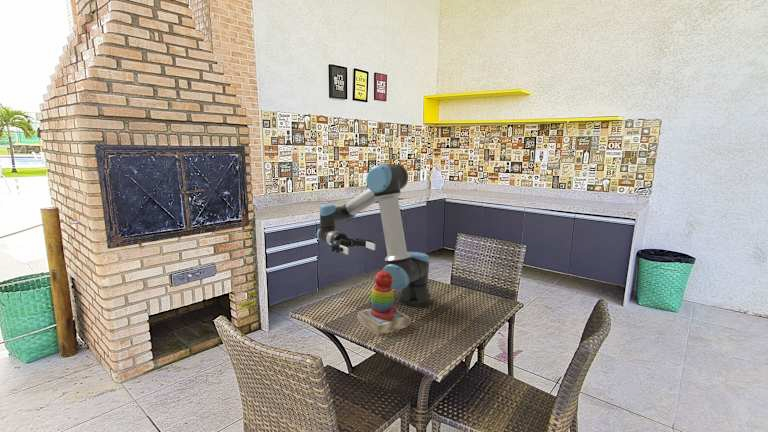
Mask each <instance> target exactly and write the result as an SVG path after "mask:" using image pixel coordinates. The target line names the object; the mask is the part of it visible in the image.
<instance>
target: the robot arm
mask: <svg viewBox="0 0 768 432" xmlns="http://www.w3.org/2000/svg"><path fill="white" fill-rule="evenodd" d="M365 182H366V186H367V187H368V188H367V189H365V190H364V191H362V192H361V193H359V194H358V195H356V196H355V197H353V198H352V199H350V200H349V201H347V202H346V203H345V204H343V205H341V206H336V205H335V204H333V203H332V204H331V203H328V204H327V203H324V204H321V205H320V207H319V228H318V230H317V231H316V238H317V240H318V241H320V242H321V243H322V244H326V245H328V246H329V247H330V249H331V252H332V253H333V252H335V251H336V253H337V254H339V253H341V254H345V255H346V256H348V255H349V253H350V250H349V248H351V247H352V248H353V247H365V248H367V249H370V250H372V251H376V243H373V242H372V240H371V239H368V238H367V239H364V238H357V237H353V238H349V237H348V235H346V234H345V233H343V232H341V231H337V230H336V227H337V226H336V223H338V222H343V221H350V220H353V219H355V217H356V215H357V214H359V213H361V212H362V211H363V210H365V209H367V208H368V207H370V206H371V205H374V204H375V203H376V202H378V206H379V213H380V218H381V224H382V229H383V230H382V231H383V235H384V241H385V247H386V249H385V250H386V253H387V256H385V258H384V263H385V266H384V267H383V270H384V271H386V272H388V273H389V274H390V275H391V276H392V278H393V279H394V281H393V283H392V284H391V286H392V290H393V291H394V290H395V291H400V292H399V294H398V301H399V303H401V304H402V305H406V306H409V307H425V306H428V305H429V304H431V300H432V297H431V293H430V290H429V283H428V282H429V270H430V256H429V255H428V254H426V253H424V252H419V251H407V250H408V249H407V244H406V239H405V232H404V227H403V225H404V224H403V219H402V214H401V213H402V212H401V208H400V203H399V202H400V201H399V197H400V195H401V190H402V189H404V188H405V187H406V186H407V184H408V182H409V173H408V171H407V169H406V168H405V167H404V166H403V165H401V164H397V163H396V164H395V163H394V164H393V163H392V164H390V163H389V164H388V163H386V164H385V163H382V164H377V165H374V166H372V167H371V168H370V170H369V171H368V173H367V174H366V181H365ZM348 247H349V248H348Z"/></svg>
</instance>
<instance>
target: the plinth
mask: <svg viewBox="0 0 768 432" xmlns="http://www.w3.org/2000/svg"><path fill="white" fill-rule="evenodd" d="M371 309H372V307H371V308H368V309H367V308H366V309H362V310H360V311H357V320H356V321H357V322H358V323H359V324H360V325H362V326H364V327H365V328H366V329H368V330H369V331H371V332H372V333H373V334H375V335H376V336H377V337H379V336H382V335H385V334H388V333H392V332H395V331H398V330H401V329H404V328H408V327H410V316H408V315H407V314H404V313H403V312H401V311H399V310H398V309H396V312H395V313H393V316H394V318H393V319H391V320H384V319H379V318H376V317H374V316H372V315H371Z"/></svg>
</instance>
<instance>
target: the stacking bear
mask: <svg viewBox="0 0 768 432" xmlns="http://www.w3.org/2000/svg"><path fill="white" fill-rule="evenodd" d="M393 281H394V279H393V278H392V276H391V275H390V274H389V273H388V272H386V271H384V269H382V270H381V271H379V272H377V273H376V274H375V276H374V282H375V284H374V286H373V287H372V289H371V294H370V304H371V308H372V309H371V315H372V316H374V317H376V318H379V319H384V320H391V319H393V318H394V316H393V313H395V312H396V310H397V308H396V307H395V306H393V305H394V302H395V295H394V289H392V286H391V284H392V283H393Z"/></svg>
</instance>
